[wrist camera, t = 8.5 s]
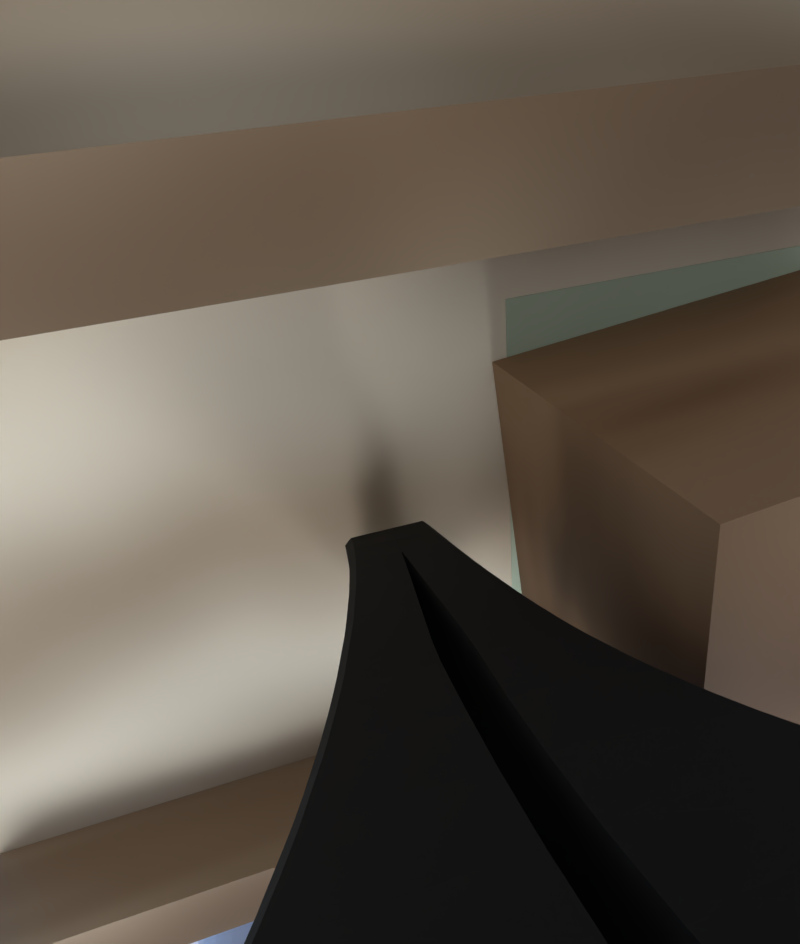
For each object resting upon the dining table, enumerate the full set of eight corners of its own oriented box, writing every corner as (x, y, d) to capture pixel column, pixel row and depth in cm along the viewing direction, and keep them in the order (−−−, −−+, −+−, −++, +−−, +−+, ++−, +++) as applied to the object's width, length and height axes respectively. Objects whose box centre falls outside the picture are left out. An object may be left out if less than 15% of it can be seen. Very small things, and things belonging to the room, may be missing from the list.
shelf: (995, 559, 20) (1155, 640, 16) (88, 847, 15) (45, 1051, 11) (1323, -101, 12) (1783, -216, 8) (-477, 27, 6) (-1281, -141, 3)
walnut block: (768, 536, 13) (1032, 714, 9) (525, 624, 12) (686, 868, 8) (809, 267, 10) (1244, 337, 6) (492, 361, 9) (721, 523, 5)
